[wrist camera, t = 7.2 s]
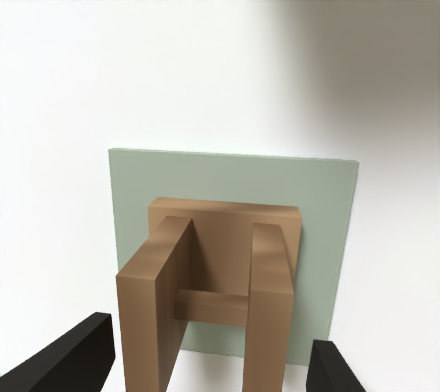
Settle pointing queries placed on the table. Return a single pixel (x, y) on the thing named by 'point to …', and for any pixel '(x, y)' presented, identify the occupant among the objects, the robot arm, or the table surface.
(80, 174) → the table surface
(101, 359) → the robot arm
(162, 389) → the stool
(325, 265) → the mat
